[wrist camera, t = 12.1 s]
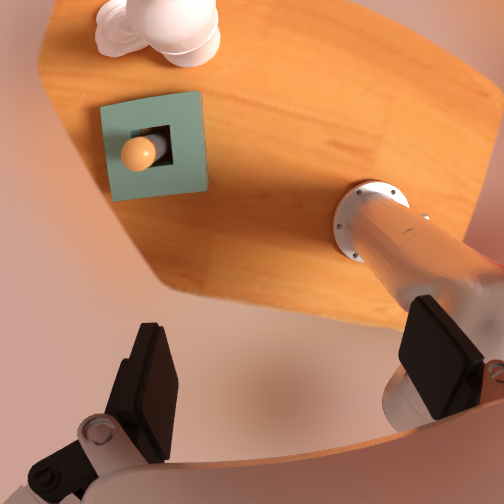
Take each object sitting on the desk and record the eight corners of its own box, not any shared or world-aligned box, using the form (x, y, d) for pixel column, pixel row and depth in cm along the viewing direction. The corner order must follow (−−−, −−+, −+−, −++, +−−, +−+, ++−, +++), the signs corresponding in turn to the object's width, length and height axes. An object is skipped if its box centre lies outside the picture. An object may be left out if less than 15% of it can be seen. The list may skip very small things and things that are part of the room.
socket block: (201, 93, 37) (198, 90, 33) (209, 183, 42) (206, 191, 38) (112, 107, 36) (100, 107, 32) (123, 192, 41) (112, 201, 37)
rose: (106, -21, 25) (173, -7, 27) (117, -11, 29) (178, 3, 31) (71, 45, 29) (135, 63, 31) (85, 50, 33) (145, 67, 35)
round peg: (171, 129, 38) (151, 135, 28) (173, 155, 40) (155, 169, 30) (146, 133, 38) (119, 140, 28) (149, 158, 40) (123, 173, 30)
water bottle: (174, 16, 32) (115, -79, 9) (228, 26, 33) (227, -73, 10) (158, 64, 35) (70, 13, 12) (211, 75, 36) (185, 23, 13)
